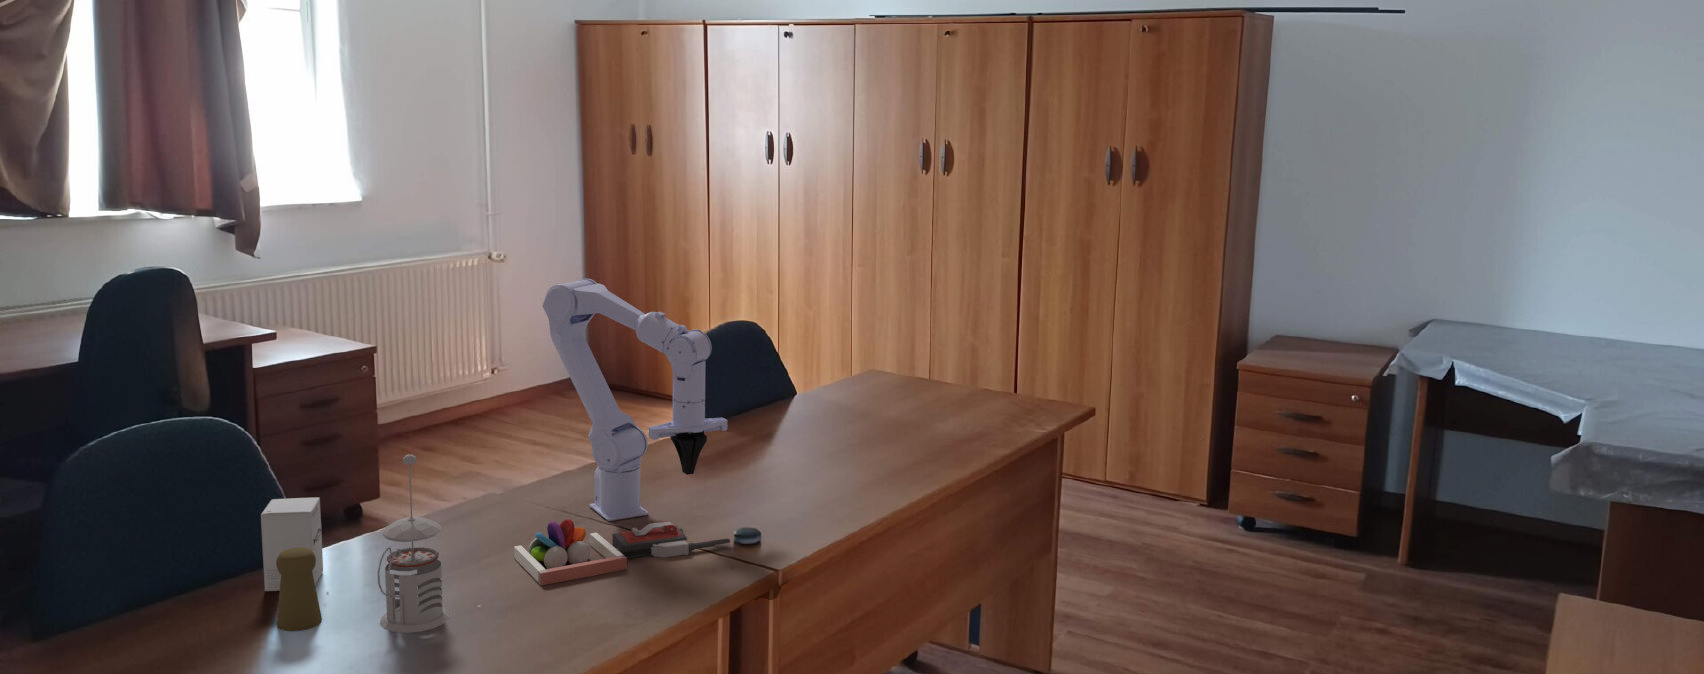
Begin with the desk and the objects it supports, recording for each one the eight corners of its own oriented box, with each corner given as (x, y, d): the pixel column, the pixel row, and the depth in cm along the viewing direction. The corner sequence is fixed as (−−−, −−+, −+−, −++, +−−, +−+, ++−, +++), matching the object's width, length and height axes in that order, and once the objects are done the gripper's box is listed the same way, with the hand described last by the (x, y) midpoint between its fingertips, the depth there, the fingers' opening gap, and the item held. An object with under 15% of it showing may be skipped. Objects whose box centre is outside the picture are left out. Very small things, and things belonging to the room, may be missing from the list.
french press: (463, 610, 186) (459, 449, 181) (414, 642, 175) (408, 471, 170) (408, 600, 188) (402, 441, 184) (356, 630, 178) (348, 463, 173)
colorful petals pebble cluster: (598, 564, 206) (597, 522, 204) (543, 576, 200) (543, 533, 198) (574, 548, 212) (574, 508, 211) (521, 560, 206) (520, 518, 205)
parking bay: (514, 557, 207) (514, 546, 206) (596, 543, 215) (596, 532, 214) (541, 585, 196) (540, 573, 196) (626, 568, 204) (626, 557, 203)
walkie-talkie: (619, 566, 206) (732, 550, 215) (619, 541, 205) (732, 526, 214) (604, 548, 213) (714, 533, 222) (604, 524, 212) (714, 510, 221)
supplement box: (315, 589, 191) (311, 511, 189) (263, 592, 190) (258, 513, 187) (325, 571, 198) (321, 496, 196) (275, 573, 197) (270, 497, 194)
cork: (293, 634, 176) (289, 561, 174) (267, 623, 179) (263, 551, 177) (331, 620, 181) (327, 548, 179) (305, 610, 184) (301, 539, 182)
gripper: (660, 408, 213) (660, 484, 216) (735, 400, 221) (734, 473, 224) (643, 399, 219) (643, 473, 222) (717, 391, 227) (716, 462, 229)
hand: (688, 472), depth 223 cm, fingers closed
